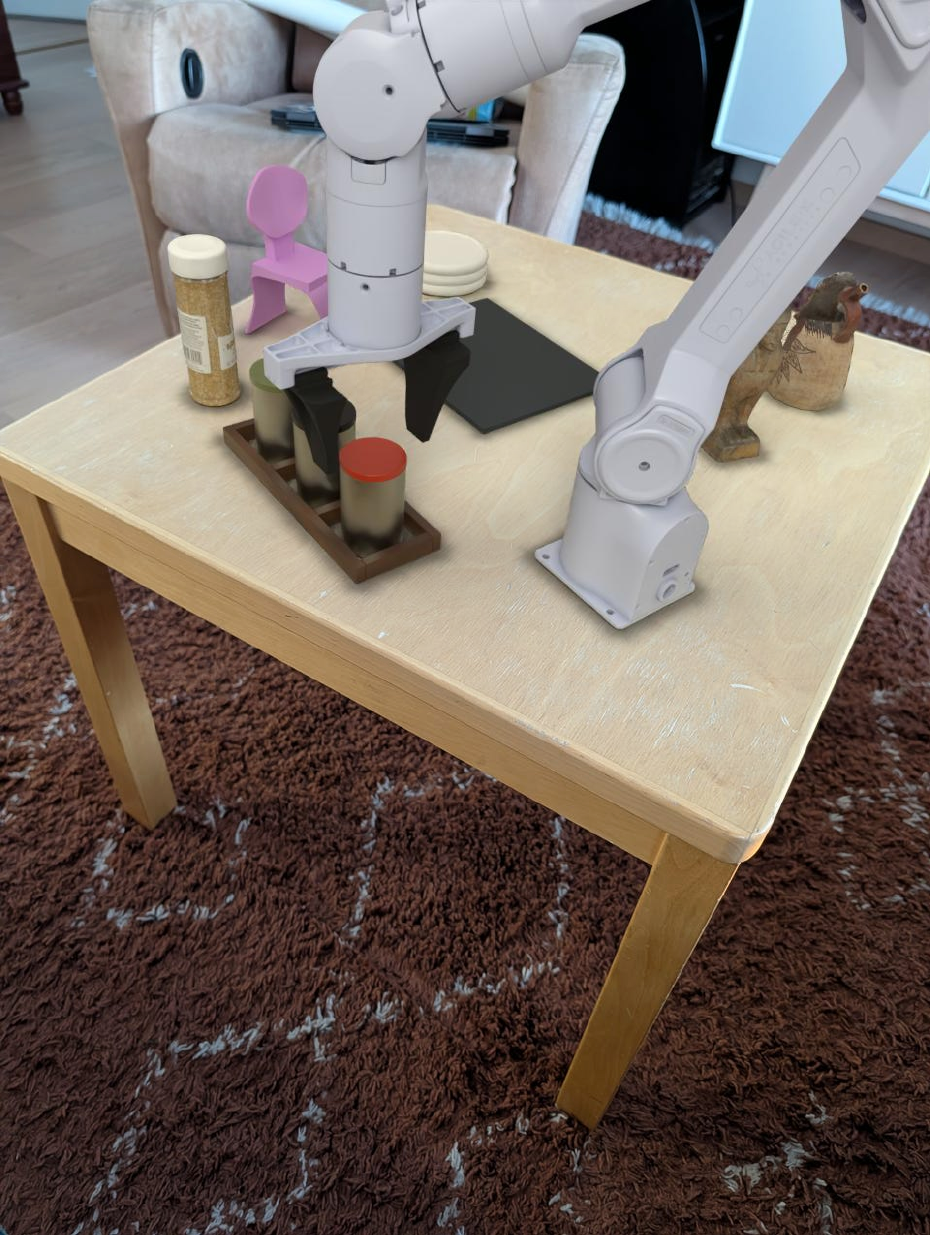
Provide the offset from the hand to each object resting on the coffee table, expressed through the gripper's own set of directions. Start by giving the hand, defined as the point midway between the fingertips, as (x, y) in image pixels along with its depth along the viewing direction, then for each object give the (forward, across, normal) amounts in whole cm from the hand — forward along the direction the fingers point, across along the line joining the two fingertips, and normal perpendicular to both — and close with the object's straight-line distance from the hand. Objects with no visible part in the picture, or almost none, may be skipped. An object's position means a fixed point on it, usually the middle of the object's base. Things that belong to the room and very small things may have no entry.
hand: (372, 450), depth 64 cm
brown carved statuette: (+8, -35, +2) cm, 36 cm away
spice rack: (+8, 0, -7) cm, 10 cm away
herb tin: (+8, 0, -13) cm, 15 cm away
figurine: (+8, -48, +3) cm, 49 cm away
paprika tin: (+8, 0, 0) cm, 8 cm away
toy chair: (+8, -11, -30) cm, 33 cm away
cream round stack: (+8, -31, -34) cm, 47 cm away
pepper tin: (+8, 0, -7) cm, 10 cm away
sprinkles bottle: (+8, +1, -24) cm, 25 cm away
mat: (+8, -24, -17) cm, 30 cm away
